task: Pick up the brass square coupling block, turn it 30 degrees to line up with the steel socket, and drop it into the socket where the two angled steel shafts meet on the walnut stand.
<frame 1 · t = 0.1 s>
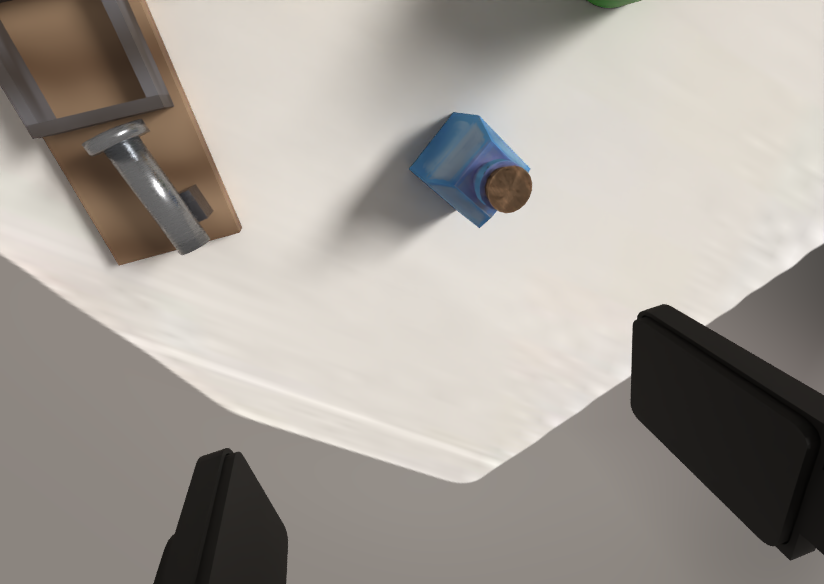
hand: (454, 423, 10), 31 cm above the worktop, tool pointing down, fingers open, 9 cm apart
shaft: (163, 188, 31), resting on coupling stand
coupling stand: (90, 55, 30), on the worktop
perfume bottle: (454, 163, 39), on the worktop
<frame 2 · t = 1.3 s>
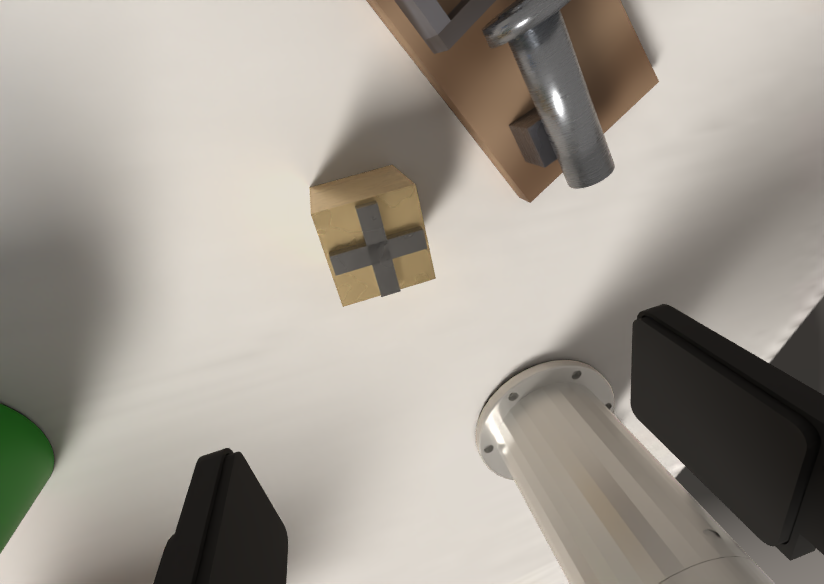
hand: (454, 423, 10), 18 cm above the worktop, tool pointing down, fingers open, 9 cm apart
coupling block: (362, 216, 26), on the worktop
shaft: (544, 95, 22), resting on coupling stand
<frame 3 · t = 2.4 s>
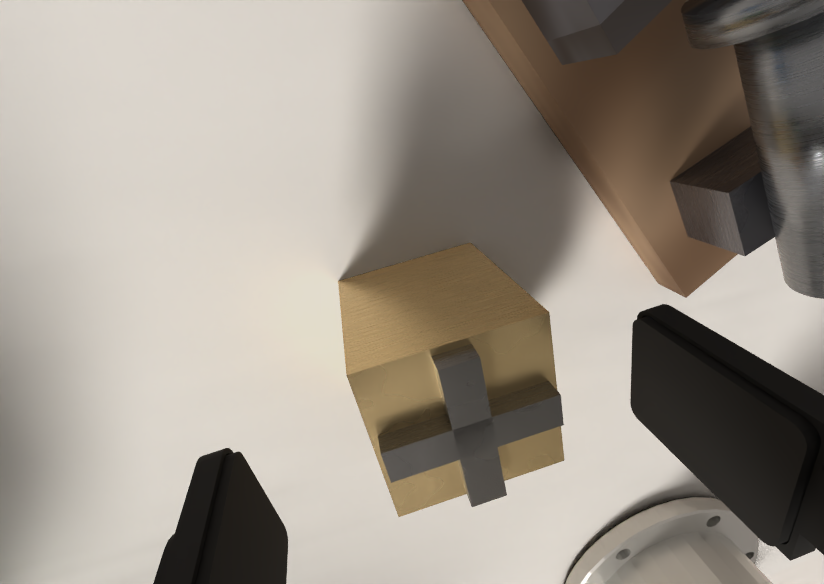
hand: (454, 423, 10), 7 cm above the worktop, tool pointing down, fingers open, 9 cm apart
coupling block: (419, 319, 16), on the worktop
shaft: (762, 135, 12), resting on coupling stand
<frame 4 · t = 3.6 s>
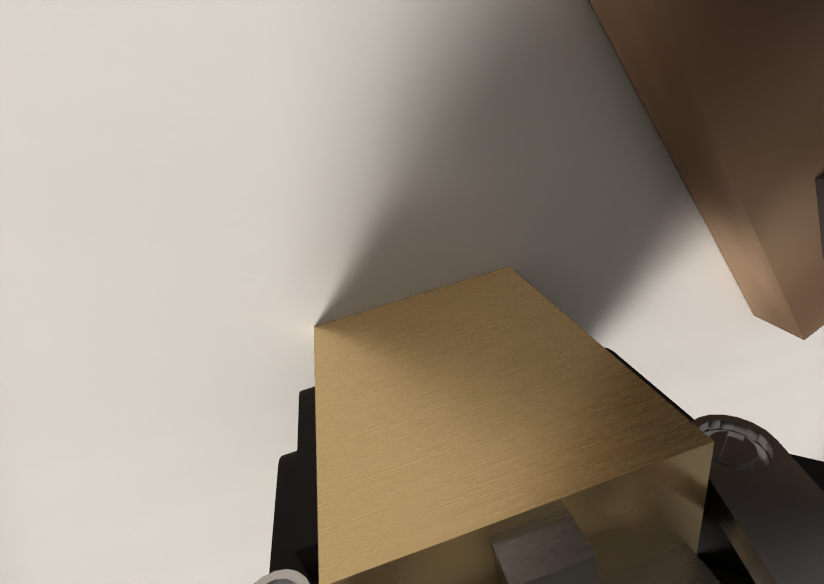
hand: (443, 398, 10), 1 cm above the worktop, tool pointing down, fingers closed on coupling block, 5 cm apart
coupling block: (433, 375, 11), on the worktop, touching gripper
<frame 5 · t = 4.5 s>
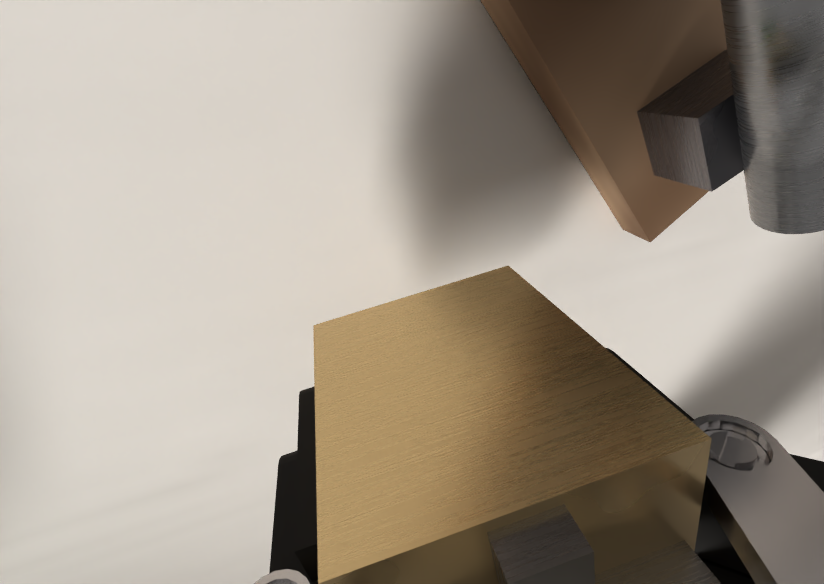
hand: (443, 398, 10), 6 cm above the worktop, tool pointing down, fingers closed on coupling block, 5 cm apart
coupling block: (433, 373, 11), point 5 cm above the worktop, touching gripper
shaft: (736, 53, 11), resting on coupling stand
when the fingers open (5 cm above the worktop, at t = 9.4 s): coupling block drops 3 cm, resting on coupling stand.
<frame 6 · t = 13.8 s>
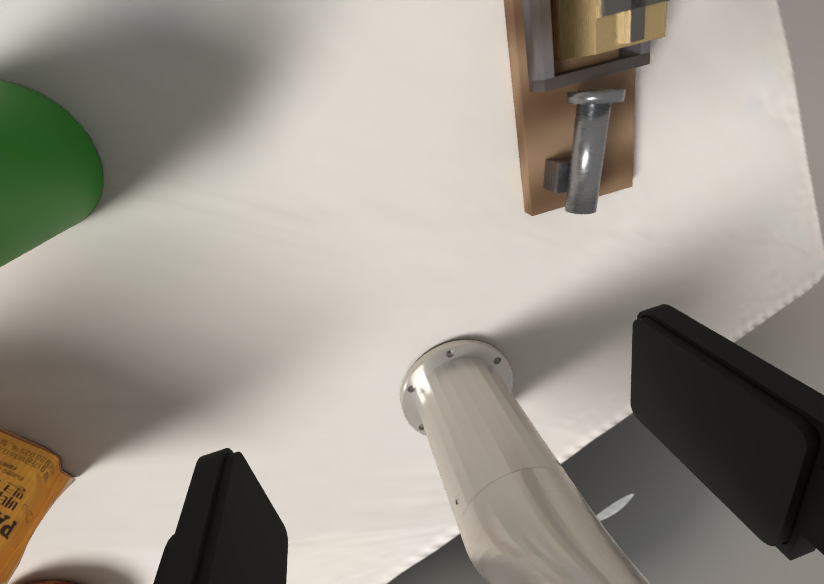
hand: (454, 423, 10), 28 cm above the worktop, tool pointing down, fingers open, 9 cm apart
green bottle: (25, 154, 29), on the worktop
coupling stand: (566, 19, 33), on the worktop
coupling block: (577, 16, 32), point 1 cm above the worktop, touching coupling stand
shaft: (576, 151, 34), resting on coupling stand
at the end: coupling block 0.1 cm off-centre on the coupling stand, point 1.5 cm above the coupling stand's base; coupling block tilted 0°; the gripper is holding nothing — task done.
